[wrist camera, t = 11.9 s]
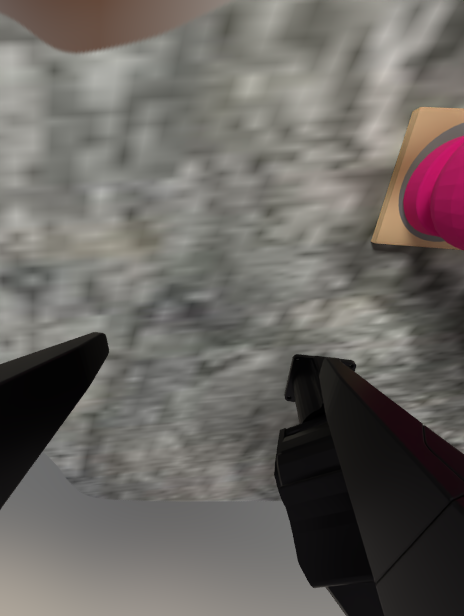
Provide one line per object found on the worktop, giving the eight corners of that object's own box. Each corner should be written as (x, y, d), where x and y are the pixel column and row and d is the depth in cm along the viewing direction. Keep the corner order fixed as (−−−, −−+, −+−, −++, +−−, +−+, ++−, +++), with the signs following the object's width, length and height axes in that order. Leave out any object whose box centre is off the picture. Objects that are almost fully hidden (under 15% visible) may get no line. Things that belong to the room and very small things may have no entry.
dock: (479, 249, 18) (488, 251, 17) (371, 241, 19) (375, 243, 18) (549, 117, 15) (565, 112, 14) (412, 111, 15) (420, 107, 14)
